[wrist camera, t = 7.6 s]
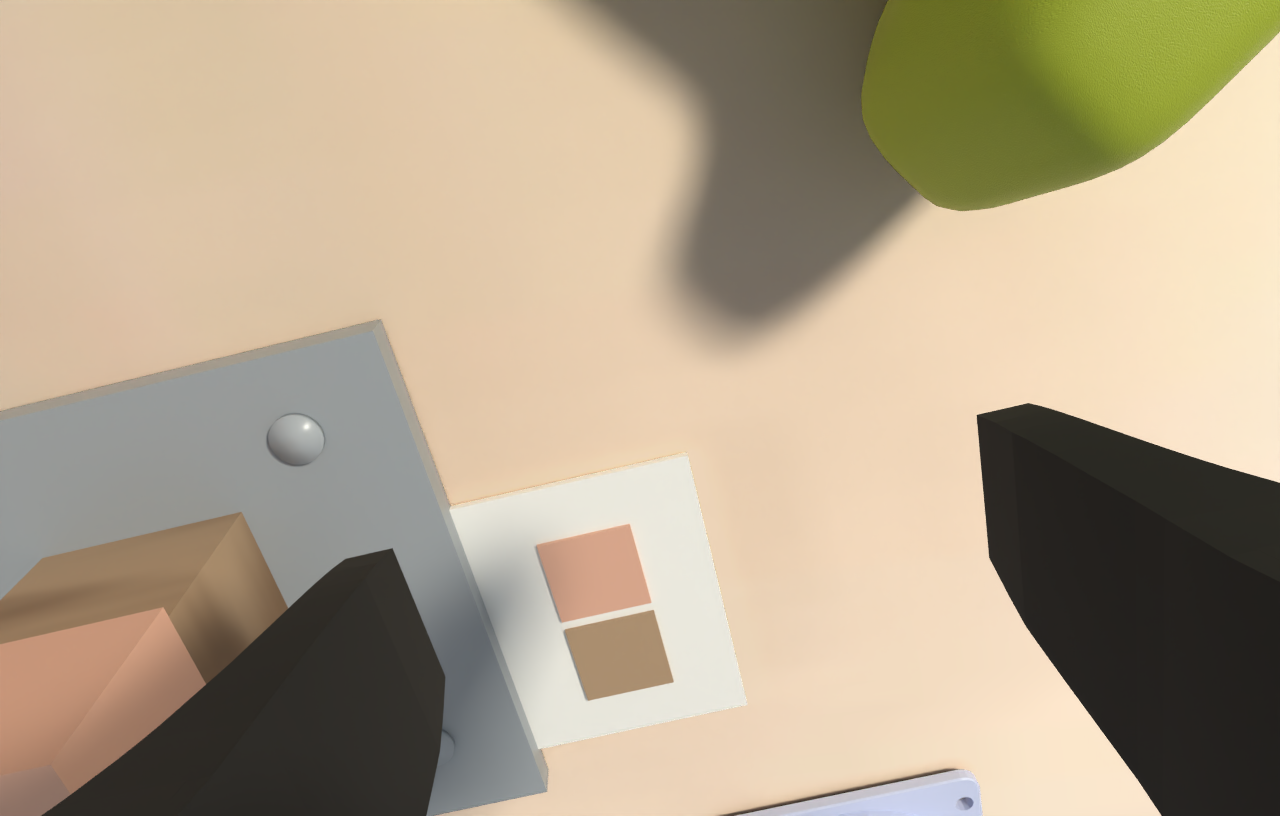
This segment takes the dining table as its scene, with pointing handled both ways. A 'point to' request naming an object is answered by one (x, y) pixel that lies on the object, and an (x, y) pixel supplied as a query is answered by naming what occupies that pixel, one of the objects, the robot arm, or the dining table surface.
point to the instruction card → (604, 600)
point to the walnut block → (157, 589)
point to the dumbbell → (1044, 87)
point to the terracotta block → (84, 703)
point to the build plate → (280, 507)
